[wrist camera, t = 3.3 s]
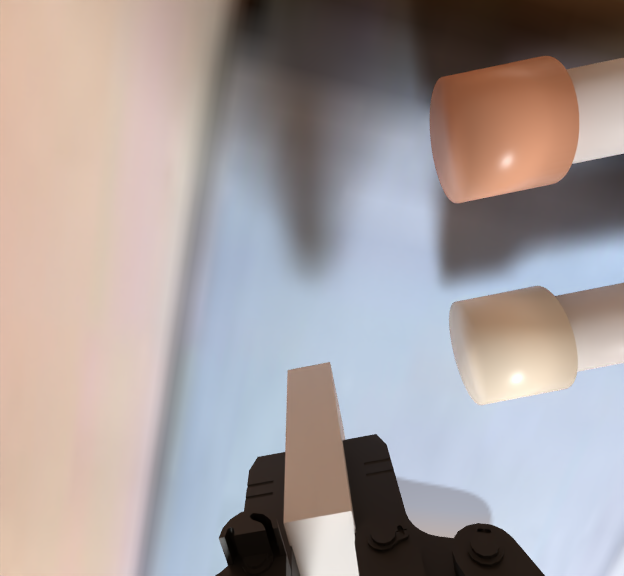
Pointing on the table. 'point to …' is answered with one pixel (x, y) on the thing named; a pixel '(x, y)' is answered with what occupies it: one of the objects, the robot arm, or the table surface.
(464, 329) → the knob
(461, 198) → the knob
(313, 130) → the table surface
